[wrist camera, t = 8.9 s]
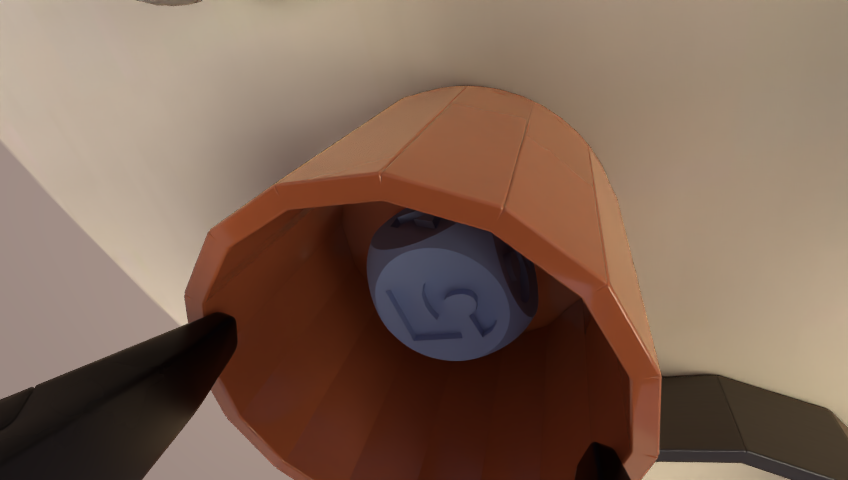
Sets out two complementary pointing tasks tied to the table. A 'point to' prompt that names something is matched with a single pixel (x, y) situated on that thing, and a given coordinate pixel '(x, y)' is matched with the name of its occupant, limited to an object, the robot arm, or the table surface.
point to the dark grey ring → (749, 429)
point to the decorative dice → (449, 286)
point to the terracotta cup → (397, 363)
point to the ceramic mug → (170, 2)
